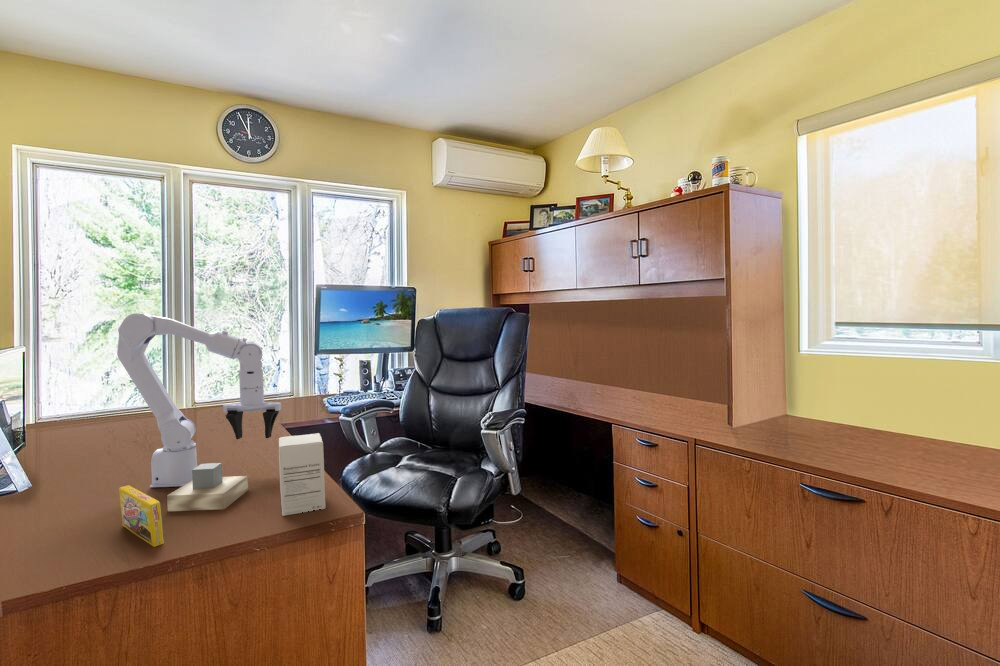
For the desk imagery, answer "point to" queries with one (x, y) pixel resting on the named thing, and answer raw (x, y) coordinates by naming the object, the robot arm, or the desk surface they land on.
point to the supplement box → (301, 473)
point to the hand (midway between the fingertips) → (253, 437)
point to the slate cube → (207, 476)
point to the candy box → (141, 515)
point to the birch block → (208, 495)
